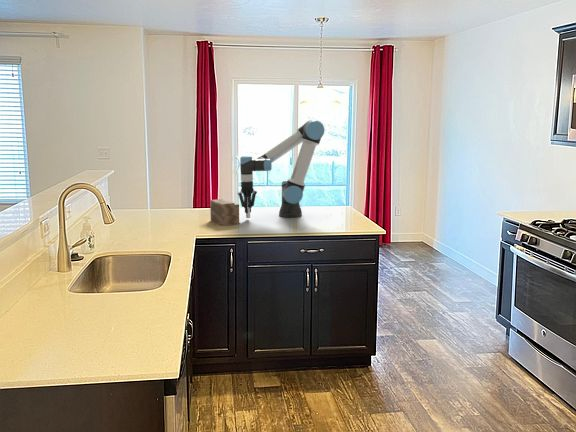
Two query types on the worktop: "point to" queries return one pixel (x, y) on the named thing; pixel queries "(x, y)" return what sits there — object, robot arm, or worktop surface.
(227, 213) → the brown patterned block
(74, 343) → the worktop surface
